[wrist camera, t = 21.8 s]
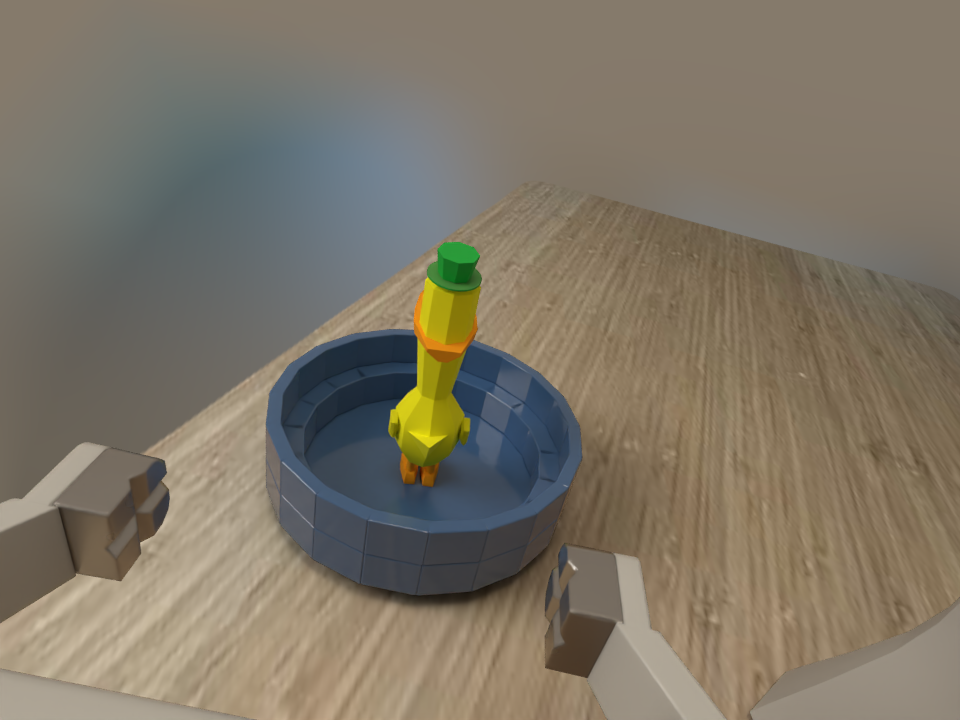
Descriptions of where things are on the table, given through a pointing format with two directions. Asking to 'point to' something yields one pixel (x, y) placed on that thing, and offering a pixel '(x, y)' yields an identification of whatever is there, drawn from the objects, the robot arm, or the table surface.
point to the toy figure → (438, 364)
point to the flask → (877, 679)
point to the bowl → (412, 507)
